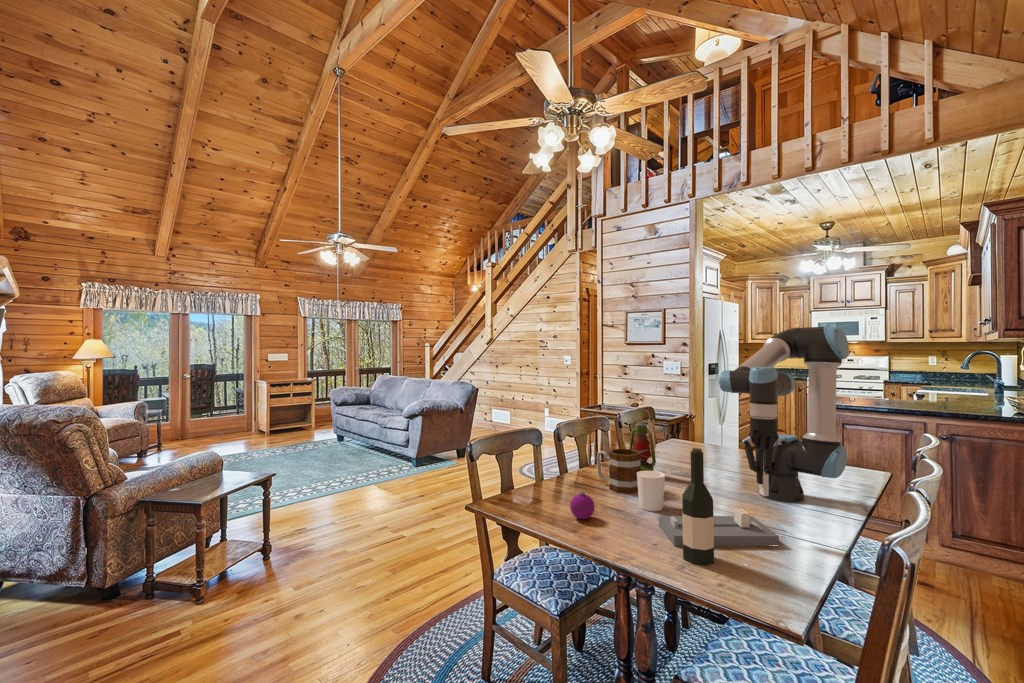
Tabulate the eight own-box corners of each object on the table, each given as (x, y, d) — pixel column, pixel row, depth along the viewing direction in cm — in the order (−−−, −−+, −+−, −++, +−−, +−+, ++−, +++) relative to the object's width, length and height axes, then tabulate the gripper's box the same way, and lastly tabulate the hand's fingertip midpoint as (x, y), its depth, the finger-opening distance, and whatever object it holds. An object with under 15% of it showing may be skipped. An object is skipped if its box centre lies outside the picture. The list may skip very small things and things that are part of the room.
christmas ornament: (567, 521, 158) (567, 491, 158) (573, 513, 165) (573, 484, 166) (591, 524, 155) (591, 493, 155) (596, 515, 162) (596, 486, 162)
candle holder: (666, 513, 165) (666, 478, 165) (637, 511, 167) (637, 477, 167) (663, 503, 174) (663, 471, 174) (636, 502, 176) (635, 469, 176)
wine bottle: (676, 552, 133) (675, 446, 133) (705, 551, 134) (704, 445, 134) (690, 566, 125) (689, 452, 125) (720, 565, 126) (719, 451, 126)
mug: (648, 488, 193) (647, 451, 194) (633, 496, 183) (632, 457, 183) (605, 479, 206) (604, 445, 206) (589, 486, 196) (588, 450, 196)
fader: (741, 521, 147) (741, 507, 147) (749, 527, 142) (749, 513, 142) (734, 521, 147) (733, 507, 147) (741, 527, 142) (741, 513, 142)
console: (752, 525, 153) (752, 509, 153) (779, 546, 137) (778, 529, 137) (658, 525, 153) (658, 509, 153) (674, 546, 137) (674, 528, 137)
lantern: (622, 474, 213) (621, 408, 214) (634, 470, 221) (634, 405, 221) (649, 480, 203) (649, 411, 204) (662, 475, 211) (661, 408, 211)
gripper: (778, 415, 148) (779, 491, 148) (736, 415, 149) (736, 490, 148) (791, 419, 141) (792, 498, 141) (747, 418, 141) (748, 498, 141)
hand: (763, 494), depth 144 cm, fingers closed
